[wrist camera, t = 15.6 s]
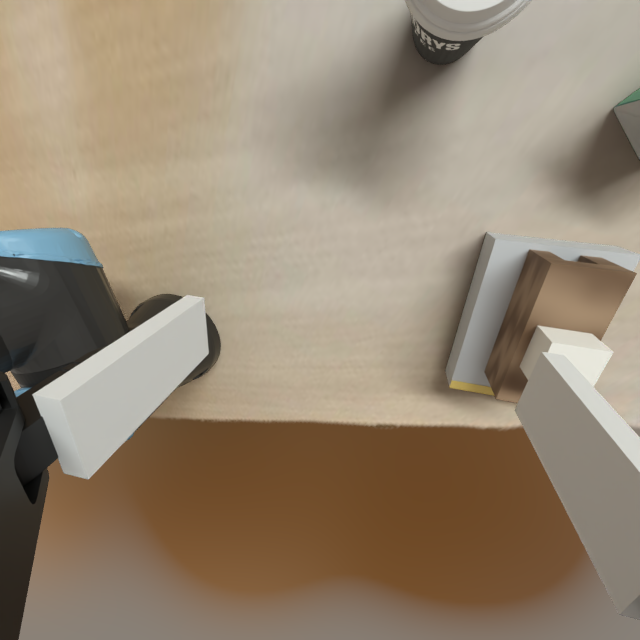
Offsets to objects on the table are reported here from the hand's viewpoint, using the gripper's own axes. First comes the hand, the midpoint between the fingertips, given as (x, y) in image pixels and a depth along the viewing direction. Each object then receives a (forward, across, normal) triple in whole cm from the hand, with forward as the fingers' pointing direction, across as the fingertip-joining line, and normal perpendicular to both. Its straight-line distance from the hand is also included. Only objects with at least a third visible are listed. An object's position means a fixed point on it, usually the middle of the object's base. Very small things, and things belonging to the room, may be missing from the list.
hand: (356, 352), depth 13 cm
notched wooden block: (+27, +20, -8) cm, 34 cm away
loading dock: (+31, +20, -9) cm, 38 cm away
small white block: (+21, +20, -9) cm, 30 cm away
